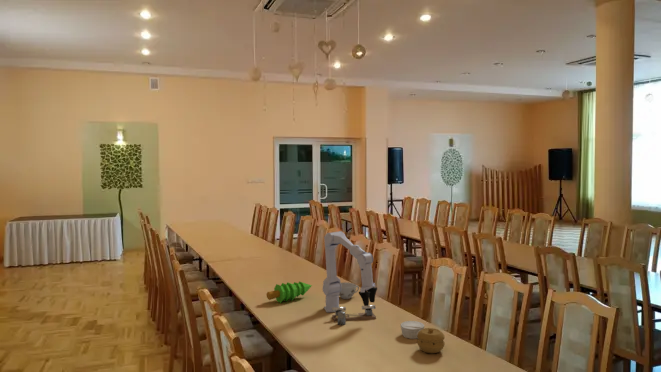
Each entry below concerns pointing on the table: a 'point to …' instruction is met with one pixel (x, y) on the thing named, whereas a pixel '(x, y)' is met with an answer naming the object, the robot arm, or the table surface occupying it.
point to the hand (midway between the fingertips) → (369, 303)
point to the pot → (430, 340)
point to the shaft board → (356, 316)
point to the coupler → (341, 318)
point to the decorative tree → (288, 291)
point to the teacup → (348, 290)
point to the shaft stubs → (367, 309)
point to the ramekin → (411, 329)
